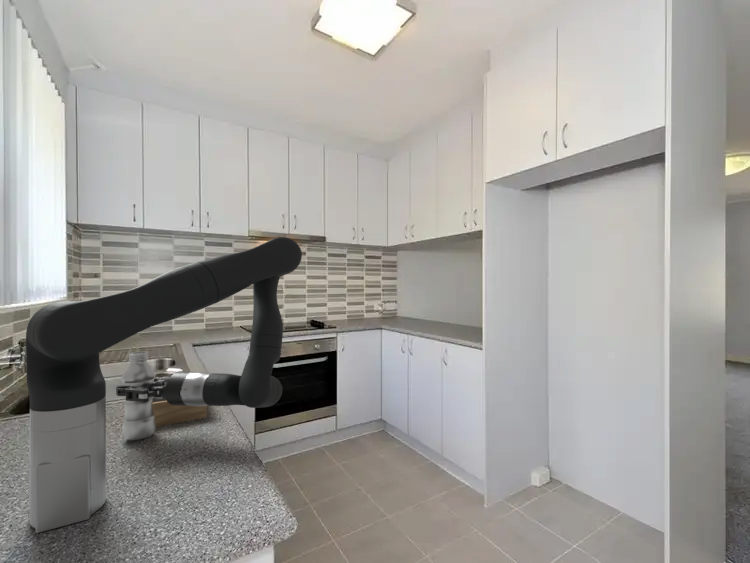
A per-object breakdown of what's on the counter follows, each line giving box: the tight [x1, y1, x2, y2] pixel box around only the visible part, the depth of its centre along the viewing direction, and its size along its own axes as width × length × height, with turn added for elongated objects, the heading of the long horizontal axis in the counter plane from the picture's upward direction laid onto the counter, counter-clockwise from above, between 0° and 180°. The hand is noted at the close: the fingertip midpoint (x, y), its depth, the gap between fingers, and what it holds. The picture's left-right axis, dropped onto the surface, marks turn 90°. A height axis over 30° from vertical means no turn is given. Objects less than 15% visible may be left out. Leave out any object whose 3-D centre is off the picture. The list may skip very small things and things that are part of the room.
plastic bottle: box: [121, 350, 157, 441], centre depth 84 cm, size 6×7×20 cm
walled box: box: [152, 398, 208, 428], centre depth 100 cm, size 18×18×6 cm
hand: (129, 386), depth 85 cm, fingers closed on plastic bottle, 6 cm apart
